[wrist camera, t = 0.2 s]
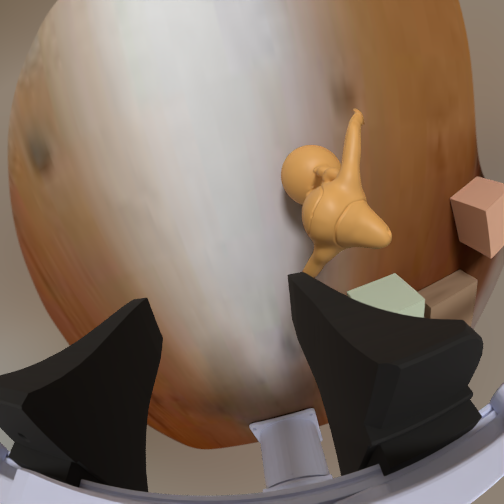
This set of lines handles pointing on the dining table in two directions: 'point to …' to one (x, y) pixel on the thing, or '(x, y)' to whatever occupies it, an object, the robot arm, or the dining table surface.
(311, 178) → the figurine
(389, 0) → the dining table surface
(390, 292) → the sage block
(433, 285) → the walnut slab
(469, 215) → the terracotta block
